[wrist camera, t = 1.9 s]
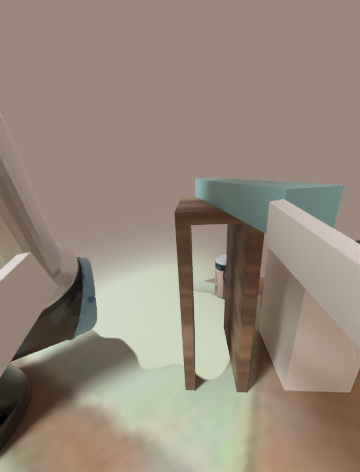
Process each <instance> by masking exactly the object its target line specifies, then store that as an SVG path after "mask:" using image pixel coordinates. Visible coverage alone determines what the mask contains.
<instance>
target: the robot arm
mask: <svg viewBox="0 0 360 472" xmlns="http://www.w3.org/2000/svg"><path fill="white" fill-rule="evenodd" d="M266 245H267V246H268V247H269V248H270V249H271V250H272V252H273V253H274V254H275V255H276V256H277V257H278V258H279V259H280V261H281V262H282V263H283V264H284V265H285V266H286V267H287V268H288V270H289V271H290V272H291V273H292V274H293V275H294V276H295V277H296V279H297V280H298V281H299V282H300V283H301V284H302V285H303V286H304V288H305V289H306V290H307V291H308V292H309V293H310V294H311V295H312V297H313V298H314V299H315V300H316V301H317V302H318V303H319V304H320V306H321V307H322V308H323V309H324V310H325V311H326V312H327V313H328V314H329V316H330V317H331V318H332V319H333V320H334V321H335V322H336V323H337V325H338V326H339V327H340V328H341V329H342V330H343V331H344V332H345V334H346V335H347V336H348V337H349V338H350V339H351V340H352V341H353V343H354V344H355V345H356V346H357V347H358V348H359V349H360V241H353V240H352V239H350V238H348V237H347V236H345V235H343V234H342V233H340V232H338V231H337V230H335V229H333V228H332V227H330V226H328V225H327V224H325V223H323V222H322V221H320V220H318V219H317V218H315V217H313V216H312V215H310V214H308V213H307V212H305V211H303V210H301V209H300V208H298V207H296V206H295V205H293V204H291V203H290V202H288V201H286V200H285V199H280V200H276V201H271V202H269V210H268V222H267V233H266ZM96 321H97V306H96V298H95V287H94V280H93V274H92V268H91V264H90V261H89V259H87V258H80V257H78V258H76V256H75V255H74V253H73V252H72V251H71V250H70V249H68V248H67V247H65V246H63V245H60V244H57V243H56V241H55V239H54V237H53V234H52V232H51V229H50V227H49V225H48V222H47V220H46V218H45V215H44V213H43V210H42V208H41V206H40V203H39V201H38V199H37V196H36V194H35V191H34V189H33V187H32V184H31V182H30V179H29V177H28V175H27V173H26V170H25V167H24V165H23V163H22V160H21V158H20V156H19V153H18V151H17V148H16V146H15V144H14V141H13V139H12V136H11V134H10V132H9V129H8V127H7V125H6V122H5V120H4V117H3V115H2V113H1V110H0V448H1V447H2V446H3V445H4V443H5V442H6V441H7V440H8V438H9V437H10V435H11V434H12V433H13V431H14V430H15V428H16V427H17V425H18V424H19V422H20V420H21V419H22V417H23V415H24V413H25V411H26V408H27V406H28V403H29V399H30V394H31V387H30V383H29V381H28V379H27V377H26V375H25V374H24V372H23V371H22V370H20V369H19V368H17V367H15V366H13V365H12V364H10V362H11V361H14V360H16V359H19V358H21V357H24V356H27V355H29V354H32V353H35V352H37V351H40V350H42V349H45V348H48V347H50V346H53V345H55V344H58V343H61V342H63V341H66V340H72V339H74V338H75V337H76V336H78V335H80V334H83V333H85V332H87V331H89V330H91V329H92V328H93V327H94V326H95V324H96Z"/></svg>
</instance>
